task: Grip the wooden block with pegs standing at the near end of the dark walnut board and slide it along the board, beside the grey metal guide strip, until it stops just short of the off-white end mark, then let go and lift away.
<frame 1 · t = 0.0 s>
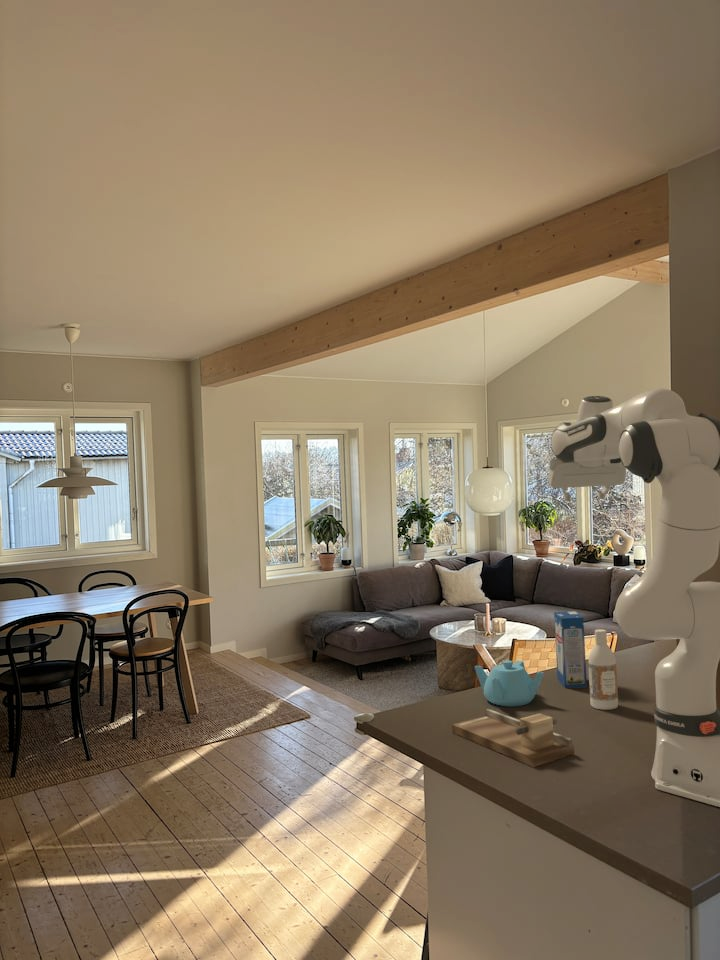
hand: (583, 498, 207), 54 cm above the counter, tool tilted 30°, fingers open, 8 cm apart
walnut board: (510, 742, 176), on the counter
milk carton: (571, 683, 223), on the counter
wooden block with pegs: (537, 745, 169), point 2 cm above the counter, touching walnut board
teapot: (509, 701, 209), on the counter
bath foam: (604, 707, 200), on the counter
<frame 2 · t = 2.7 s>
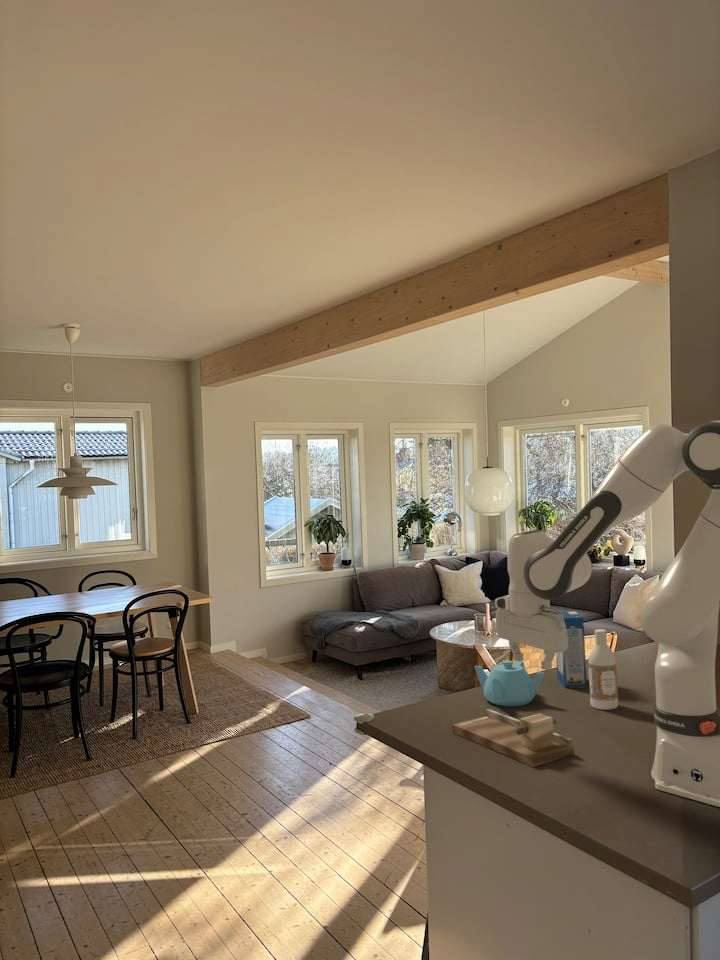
hand: (532, 664, 170), 20 cm above the counter, tool pointing down, fingers open, 8 cm apart
nothing on the counter moved.
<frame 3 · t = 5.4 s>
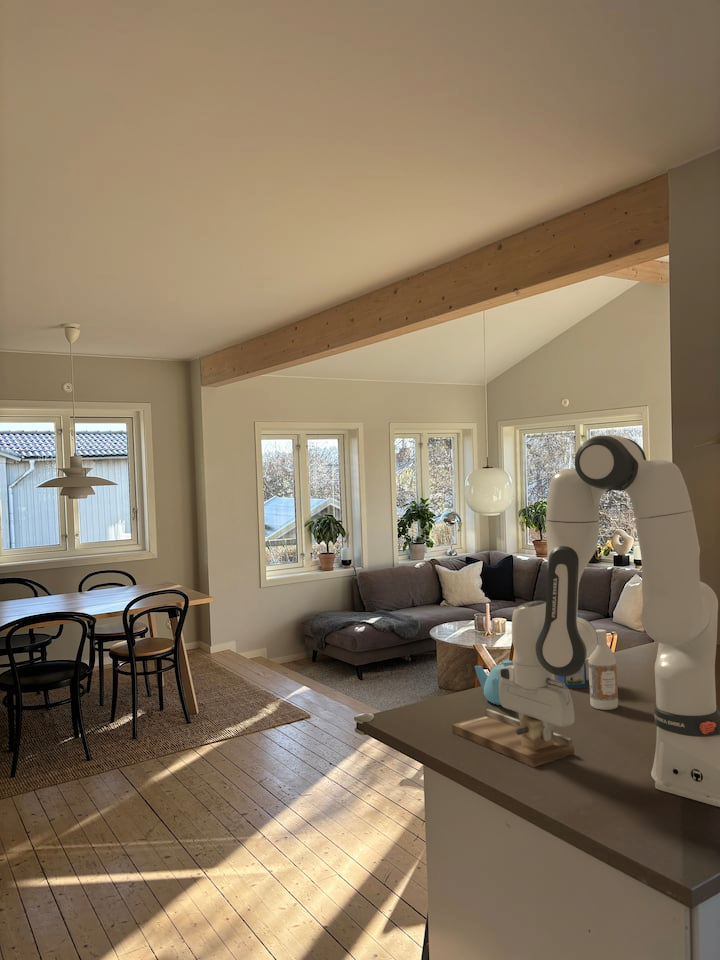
hand: (537, 736, 169), 4 cm above the counter, tool pointing down, fingers closed on wooden block with pegs, 4 cm apart
wooden block with pegs: (537, 745, 169), point 2 cm above the counter, touching gripper, walnut board
everything else where it was.
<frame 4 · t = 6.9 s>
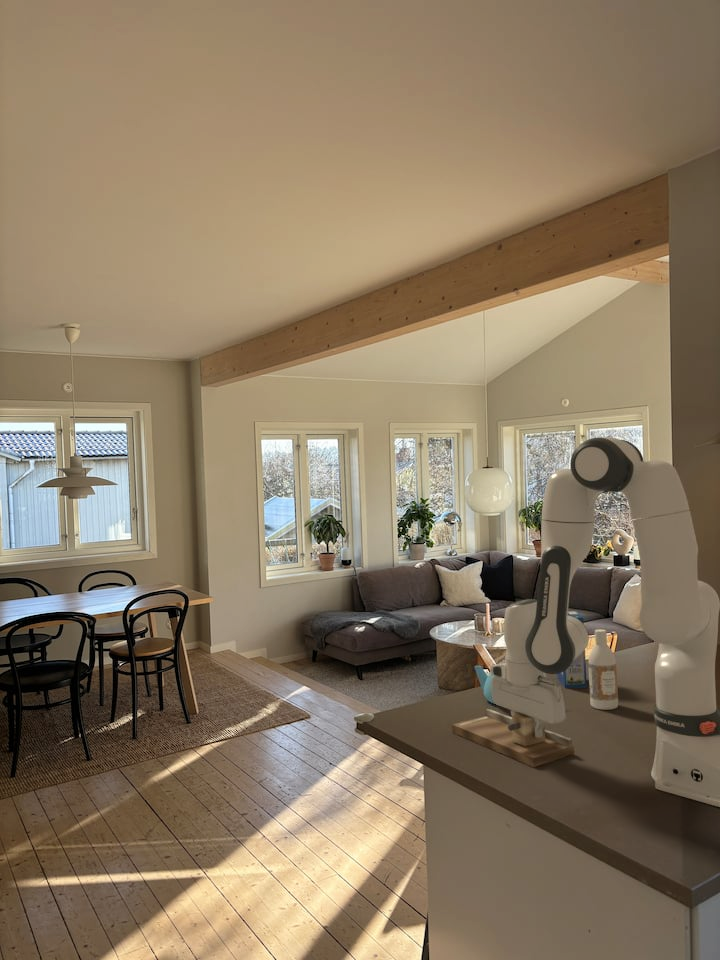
hand: (528, 733, 171), 4 cm above the counter, tool pointing down, fingers closed on wooden block with pegs, 4 cm apart
wooden block with pegs: (529, 741, 171), point 2 cm above the counter, touching gripper
everything else where it was.
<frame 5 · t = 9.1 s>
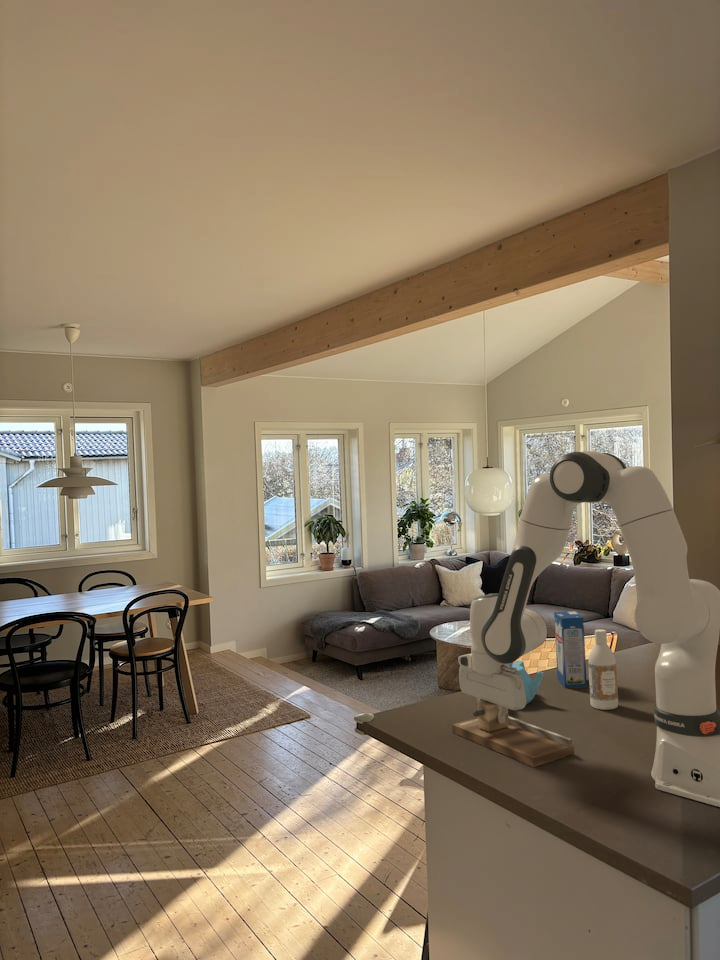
hand: (493, 719, 181), 4 cm above the counter, tool pointing down, fingers closed on wooden block with pegs, 4 cm apart
wooden block with pegs: (493, 726, 181), point 2 cm above the counter, touching gripper
everything else where it was.
when the fingers open (4 cm above the counter, at t = 11.3 s): wooden block with pegs stays where it is, resting on walnut board.
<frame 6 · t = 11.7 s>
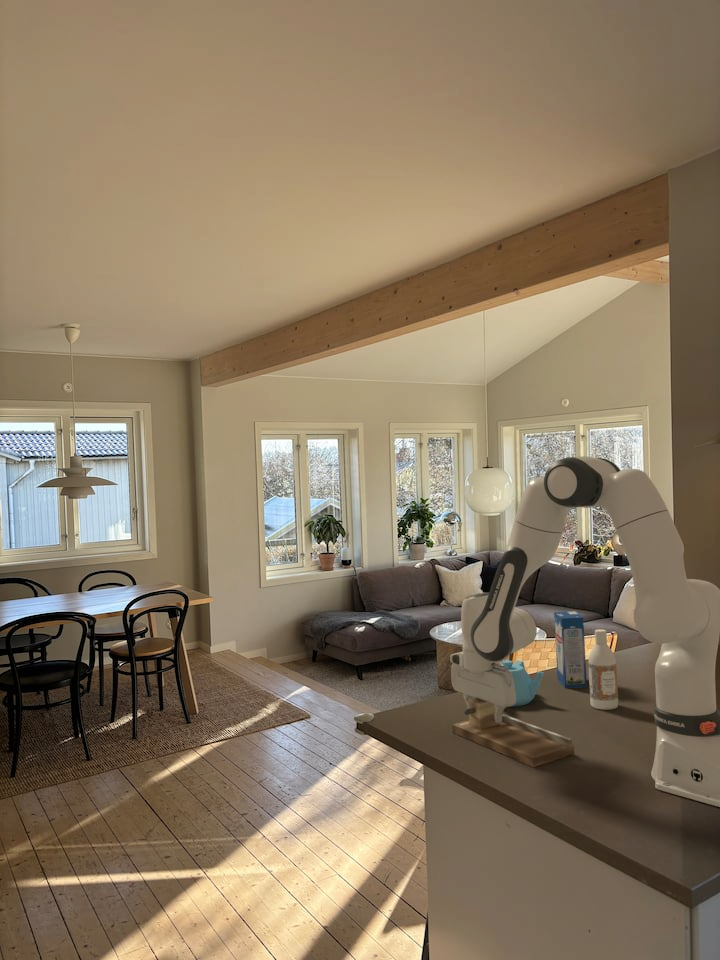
hand: (484, 716, 184), 4 cm above the counter, tool pointing down, fingers open, 8 cm apart
wooden block with pegs: (484, 724, 184), point 2 cm above the counter, touching walnut board
everything else where it was.
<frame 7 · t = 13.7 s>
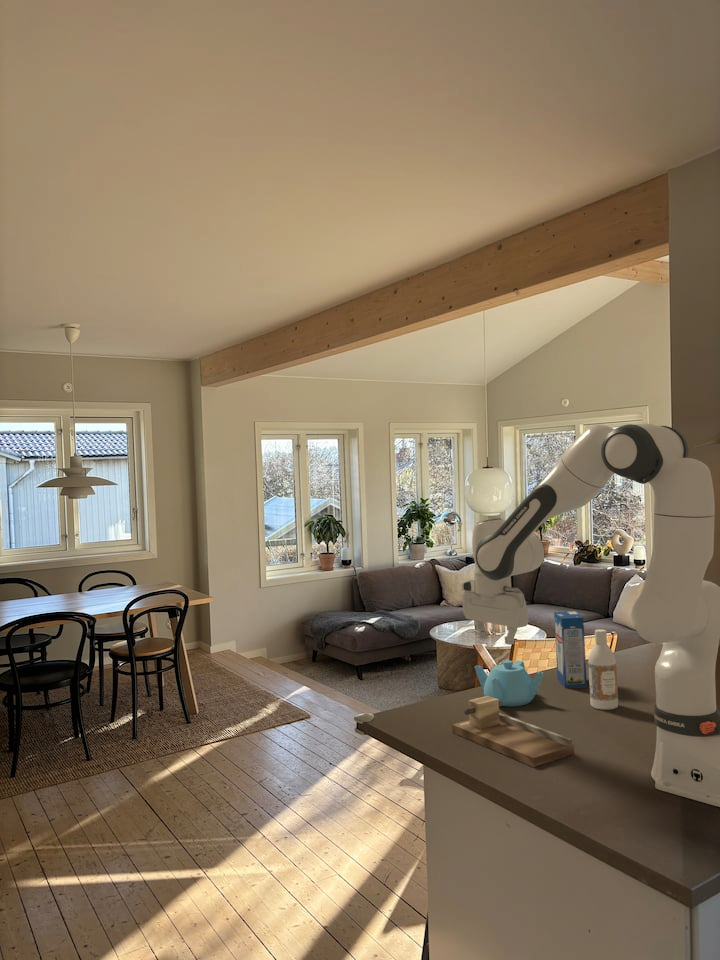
hand: (496, 641, 186), 21 cm above the counter, tool pointing down, fingers open, 8 cm apart
nothing on the counter moved.
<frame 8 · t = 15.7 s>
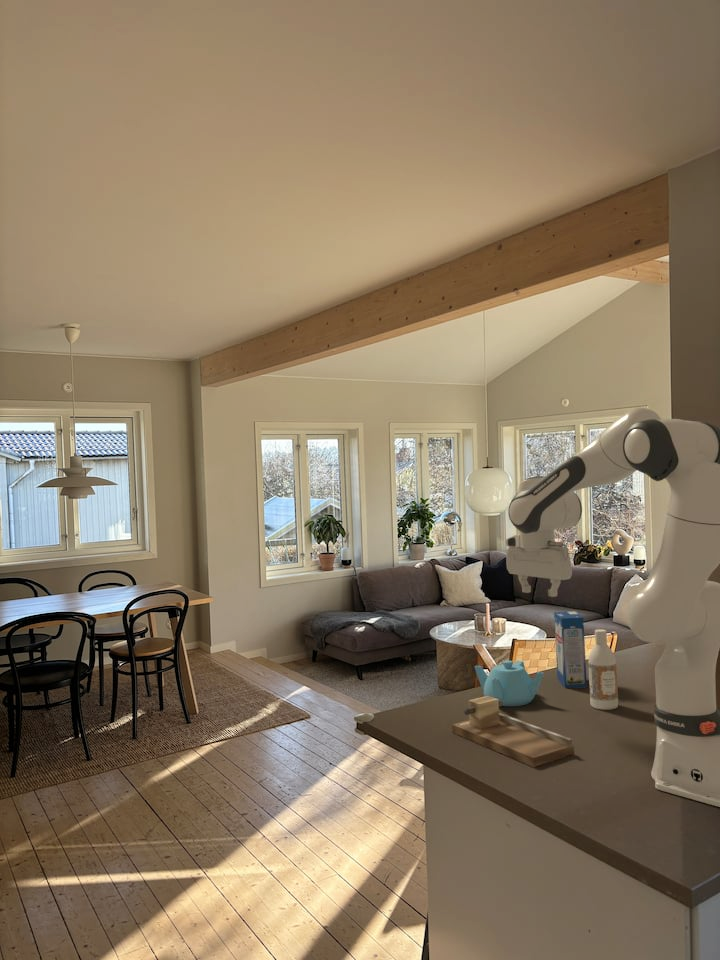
hand: (539, 594, 194), 31 cm above the counter, tool pointing down, fingers open, 8 cm apart
nothing on the counter moved.
at the end: wooden block with pegs 0.1 cm from the target spot, point 2.0 cm above the counter; wooden block with pegs tilted 0°; the gripper is holding nothing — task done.
